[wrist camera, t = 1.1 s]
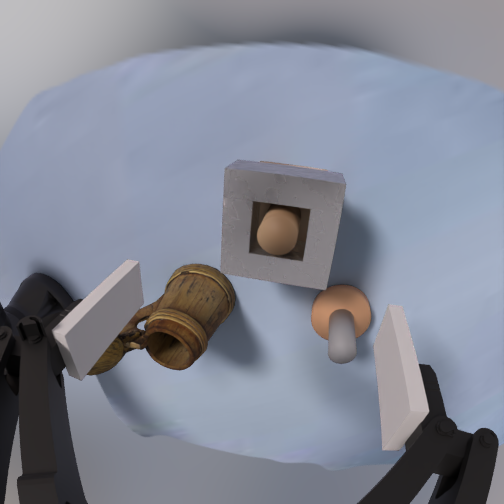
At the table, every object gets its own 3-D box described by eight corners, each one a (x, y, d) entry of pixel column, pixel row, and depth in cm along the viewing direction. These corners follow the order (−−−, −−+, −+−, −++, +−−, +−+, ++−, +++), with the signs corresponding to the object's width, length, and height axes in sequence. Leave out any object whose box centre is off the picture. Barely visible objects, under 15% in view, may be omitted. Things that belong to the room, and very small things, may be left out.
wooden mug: (140, 247, 40) (52, 329, 25) (239, 272, 39) (186, 383, 23) (141, 302, 45) (72, 389, 29) (231, 328, 43) (185, 436, 27)
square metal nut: (232, 253, 31) (220, 273, 28) (237, 159, 27) (224, 168, 24) (326, 267, 30) (325, 290, 26) (342, 173, 26) (346, 184, 22)
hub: (307, 327, 40) (302, 372, 33) (317, 280, 37) (315, 321, 30) (361, 335, 39) (365, 379, 32) (376, 289, 36) (385, 331, 29)
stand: (255, 223, 36) (229, 270, 26) (260, 161, 33) (233, 185, 23) (318, 232, 35) (315, 284, 25) (327, 169, 32) (331, 198, 22)
